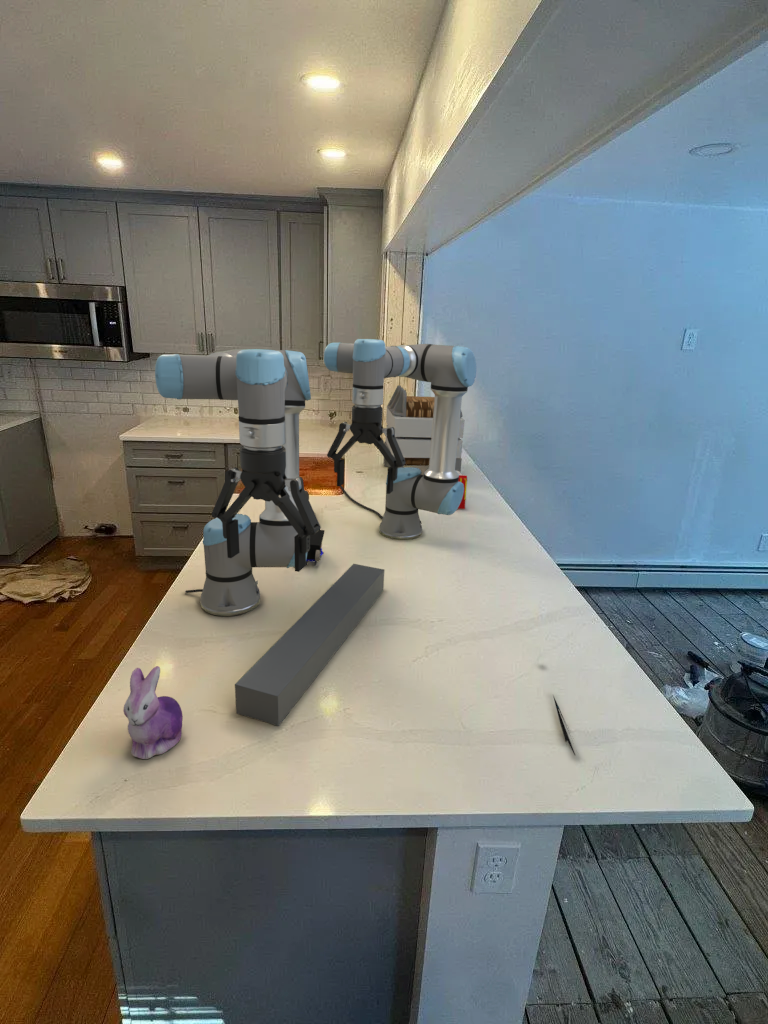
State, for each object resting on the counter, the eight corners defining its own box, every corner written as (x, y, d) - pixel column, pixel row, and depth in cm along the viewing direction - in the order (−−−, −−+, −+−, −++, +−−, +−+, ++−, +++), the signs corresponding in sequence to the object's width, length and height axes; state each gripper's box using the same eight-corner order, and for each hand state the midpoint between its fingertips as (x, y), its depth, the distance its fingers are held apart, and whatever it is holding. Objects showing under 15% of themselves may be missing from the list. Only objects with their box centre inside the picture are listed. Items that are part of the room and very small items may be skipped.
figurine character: (321, 573, 171) (325, 548, 184) (321, 551, 168) (325, 527, 181) (299, 572, 171) (304, 547, 184) (298, 550, 167) (304, 526, 181)
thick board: (353, 584, 162) (353, 563, 160) (383, 591, 159) (384, 569, 157) (236, 713, 109) (234, 684, 107) (278, 726, 107) (277, 696, 104)
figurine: (131, 770, 95) (121, 695, 90) (126, 731, 103) (116, 661, 98) (190, 752, 99) (183, 680, 94) (180, 716, 108) (173, 648, 102)
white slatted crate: (382, 463, 289) (386, 382, 275) (445, 464, 293) (451, 384, 279) (390, 482, 257) (394, 392, 243) (460, 483, 261) (468, 394, 247)
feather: (542, 671, 128) (548, 665, 128) (575, 760, 102) (582, 753, 101) (536, 667, 128) (542, 661, 128) (567, 755, 102) (574, 748, 101)
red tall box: (459, 466, 252) (471, 476, 223) (457, 496, 255) (469, 509, 225) (432, 466, 252) (440, 475, 222) (430, 495, 254) (438, 509, 225)
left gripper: (185, 441, 95) (194, 557, 102) (321, 460, 87) (320, 583, 95) (212, 433, 102) (219, 542, 109) (340, 450, 94) (338, 565, 101)
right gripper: (314, 402, 138) (314, 485, 146) (412, 412, 131) (406, 499, 138) (327, 398, 145) (326, 478, 152) (420, 408, 138) (415, 491, 145)
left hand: (266, 561), depth 102 cm, fingers open, 13 cm apart
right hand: (364, 488), depth 145 cm, fingers open, 13 cm apart
